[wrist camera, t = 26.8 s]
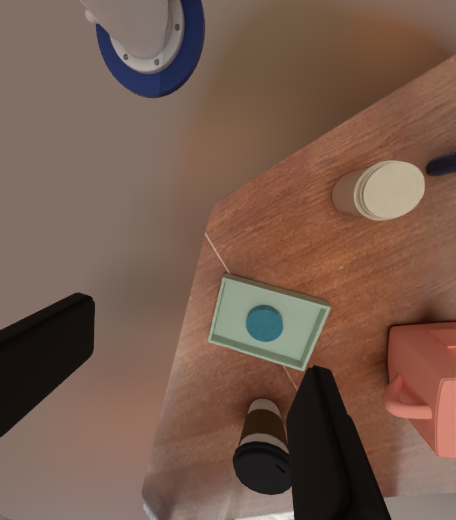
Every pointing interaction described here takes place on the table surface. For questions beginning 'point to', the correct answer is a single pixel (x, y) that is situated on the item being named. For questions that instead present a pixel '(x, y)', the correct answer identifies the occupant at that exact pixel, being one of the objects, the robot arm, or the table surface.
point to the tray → (289, 306)
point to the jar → (379, 190)
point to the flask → (442, 165)
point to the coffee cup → (263, 450)
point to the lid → (264, 323)
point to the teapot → (424, 382)
